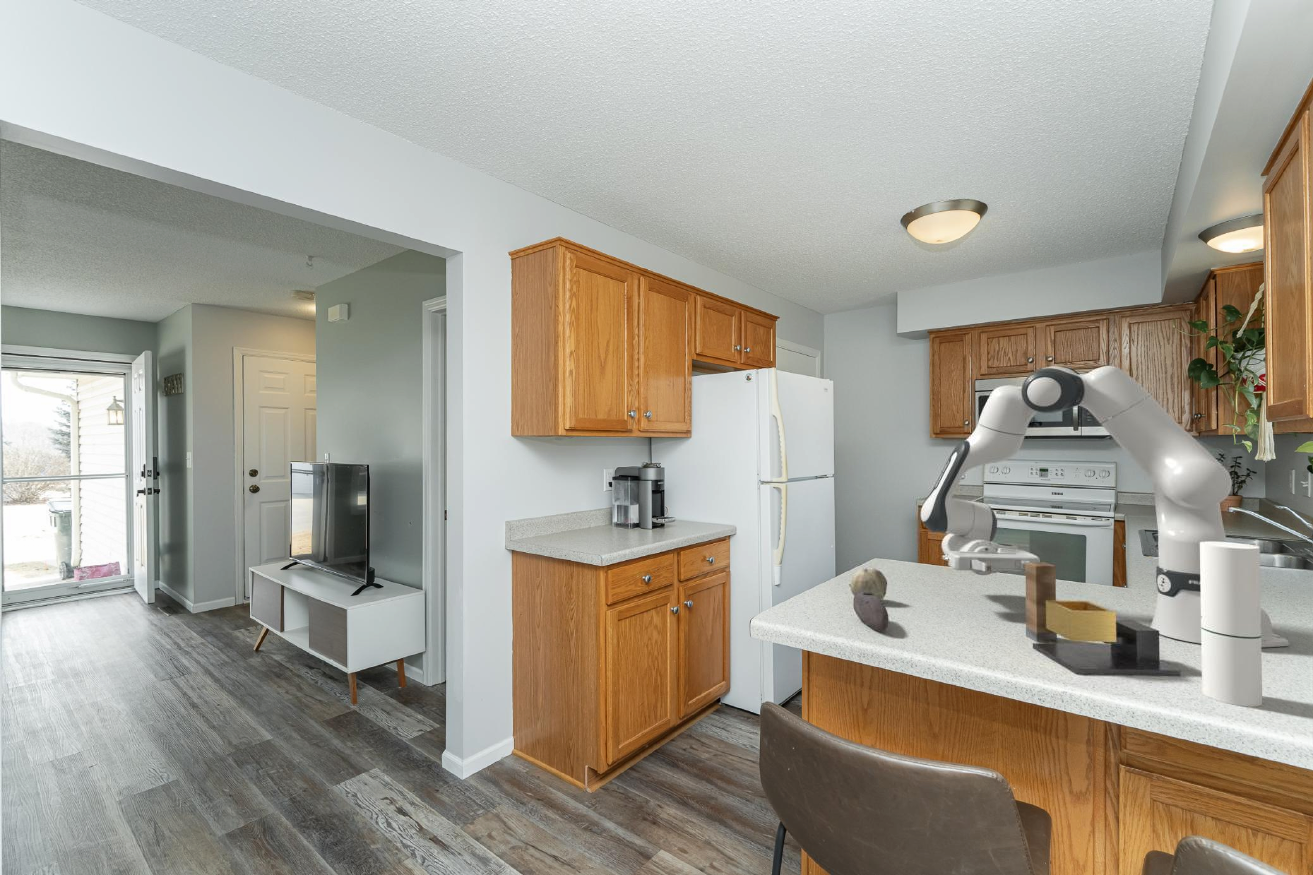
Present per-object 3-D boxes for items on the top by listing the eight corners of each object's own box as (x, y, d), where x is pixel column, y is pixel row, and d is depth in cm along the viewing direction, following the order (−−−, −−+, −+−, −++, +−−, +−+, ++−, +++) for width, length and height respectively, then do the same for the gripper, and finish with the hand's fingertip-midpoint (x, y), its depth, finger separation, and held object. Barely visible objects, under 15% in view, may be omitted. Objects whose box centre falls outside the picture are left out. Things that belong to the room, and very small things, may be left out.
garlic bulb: (885, 611, 159) (899, 577, 157) (864, 610, 155) (877, 575, 153) (860, 593, 167) (872, 560, 165) (838, 591, 163) (851, 558, 161)
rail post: (1045, 636, 131) (1044, 562, 131) (1056, 642, 126) (1055, 566, 127) (1025, 635, 131) (1025, 562, 131) (1036, 642, 127) (1035, 566, 127)
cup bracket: (1124, 649, 122) (1123, 597, 122) (1180, 676, 108) (1179, 617, 108) (1032, 648, 123) (1032, 596, 123) (1076, 674, 109) (1075, 616, 109)
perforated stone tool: (896, 636, 131) (895, 604, 131) (871, 636, 131) (871, 604, 131) (873, 617, 146) (873, 588, 146) (851, 617, 146) (851, 588, 146)
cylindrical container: (1260, 696, 99) (1257, 544, 99) (1264, 710, 94) (1261, 550, 94) (1201, 684, 104) (1199, 540, 104) (1202, 698, 99) (1199, 545, 99)
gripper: (939, 543, 155) (963, 553, 142) (1021, 545, 154) (1053, 555, 140) (939, 568, 155) (963, 580, 142) (1020, 569, 154) (1053, 582, 140)
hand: (1008, 568), depth 141 cm, fingers open, 8 cm apart
